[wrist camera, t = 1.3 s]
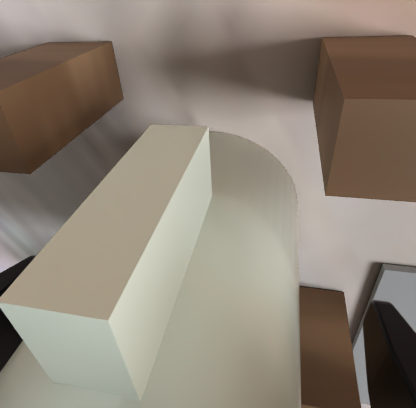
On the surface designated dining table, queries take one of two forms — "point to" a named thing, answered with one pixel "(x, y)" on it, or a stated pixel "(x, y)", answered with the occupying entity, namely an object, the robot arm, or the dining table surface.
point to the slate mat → (401, 299)
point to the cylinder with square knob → (166, 285)
